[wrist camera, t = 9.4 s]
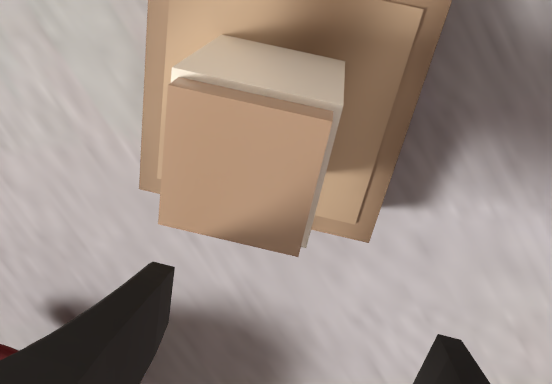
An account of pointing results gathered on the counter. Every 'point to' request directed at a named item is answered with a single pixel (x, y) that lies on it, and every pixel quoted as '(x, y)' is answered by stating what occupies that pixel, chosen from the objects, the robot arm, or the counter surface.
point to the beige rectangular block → (249, 142)
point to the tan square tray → (324, 42)
